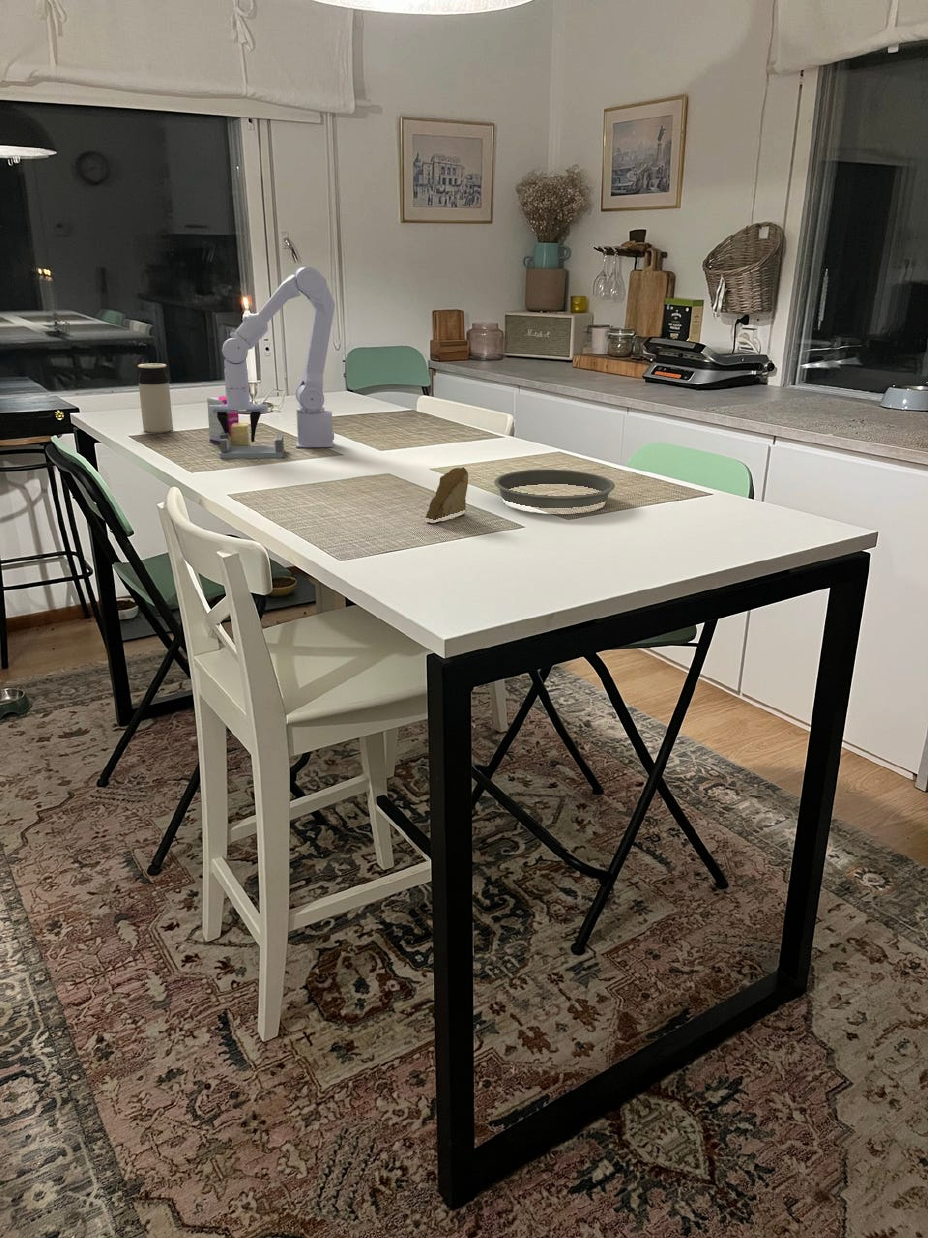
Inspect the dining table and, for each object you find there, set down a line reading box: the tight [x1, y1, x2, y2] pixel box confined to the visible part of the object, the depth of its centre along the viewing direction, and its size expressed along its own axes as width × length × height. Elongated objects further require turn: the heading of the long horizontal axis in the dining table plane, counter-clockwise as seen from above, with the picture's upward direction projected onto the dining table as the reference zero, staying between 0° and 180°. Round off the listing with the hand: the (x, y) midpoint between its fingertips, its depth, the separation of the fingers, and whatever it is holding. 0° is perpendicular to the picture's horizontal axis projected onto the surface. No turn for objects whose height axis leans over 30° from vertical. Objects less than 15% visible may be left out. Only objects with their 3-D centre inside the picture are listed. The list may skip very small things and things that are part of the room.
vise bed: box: [219, 433, 285, 459], centre depth 239 cm, size 15×10×4 cm, turn 98°
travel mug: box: [137, 363, 174, 433], centre depth 266 cm, size 8×8×18 cm
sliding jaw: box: [219, 433, 232, 452], centre depth 237 cm, size 2×9×4 cm, turn 8°
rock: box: [425, 466, 469, 520], centre depth 183 cm, size 11×9×10 cm
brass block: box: [231, 422, 251, 446], centre depth 246 cm, size 4×6×6 cm, turn 8°
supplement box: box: [206, 395, 240, 444], centre depth 253 cm, size 6×6×12 cm
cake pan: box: [493, 469, 616, 508], centre depth 196 cm, size 25×25×4 cm
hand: (240, 441), depth 246 cm, fingers open, 5 cm apart
